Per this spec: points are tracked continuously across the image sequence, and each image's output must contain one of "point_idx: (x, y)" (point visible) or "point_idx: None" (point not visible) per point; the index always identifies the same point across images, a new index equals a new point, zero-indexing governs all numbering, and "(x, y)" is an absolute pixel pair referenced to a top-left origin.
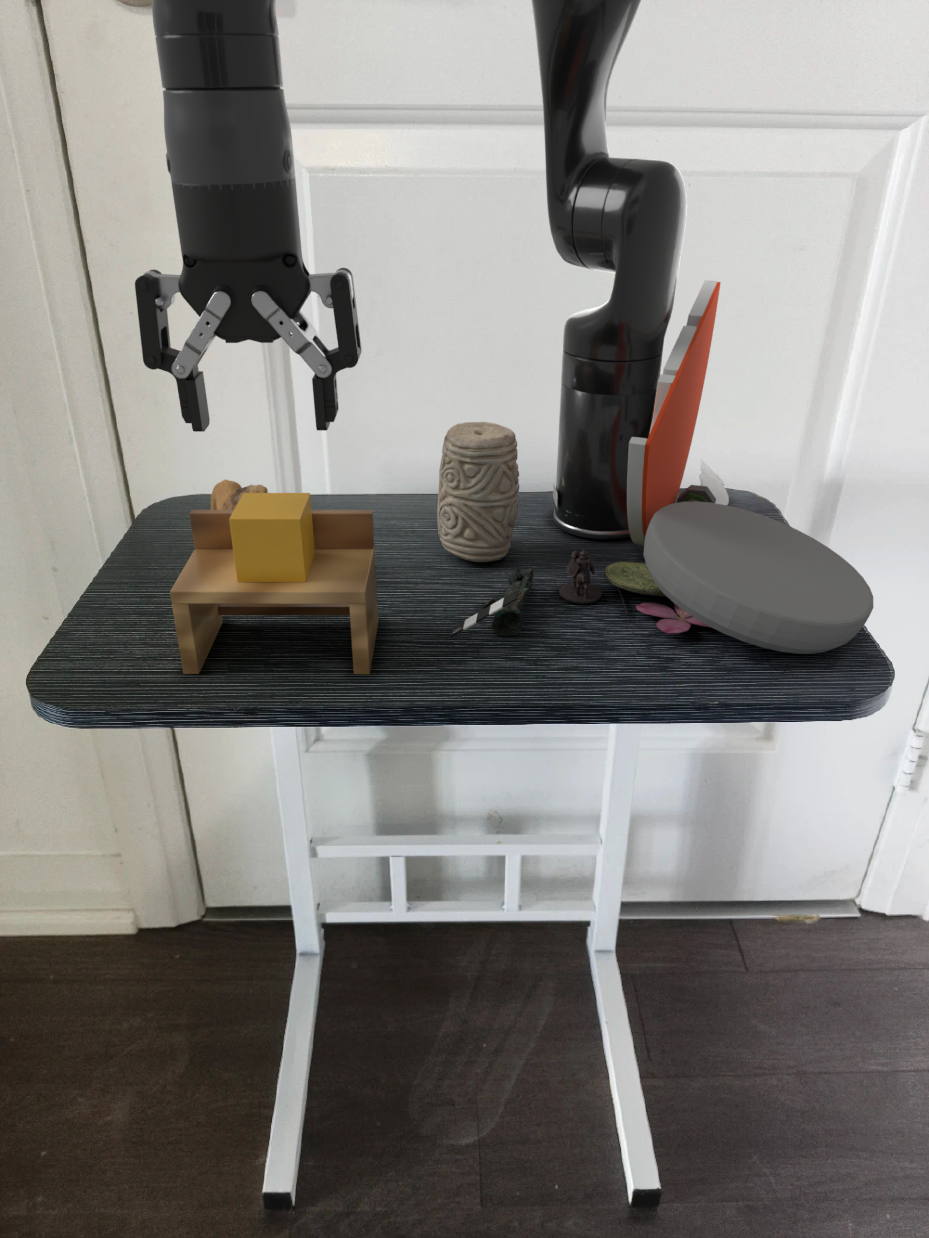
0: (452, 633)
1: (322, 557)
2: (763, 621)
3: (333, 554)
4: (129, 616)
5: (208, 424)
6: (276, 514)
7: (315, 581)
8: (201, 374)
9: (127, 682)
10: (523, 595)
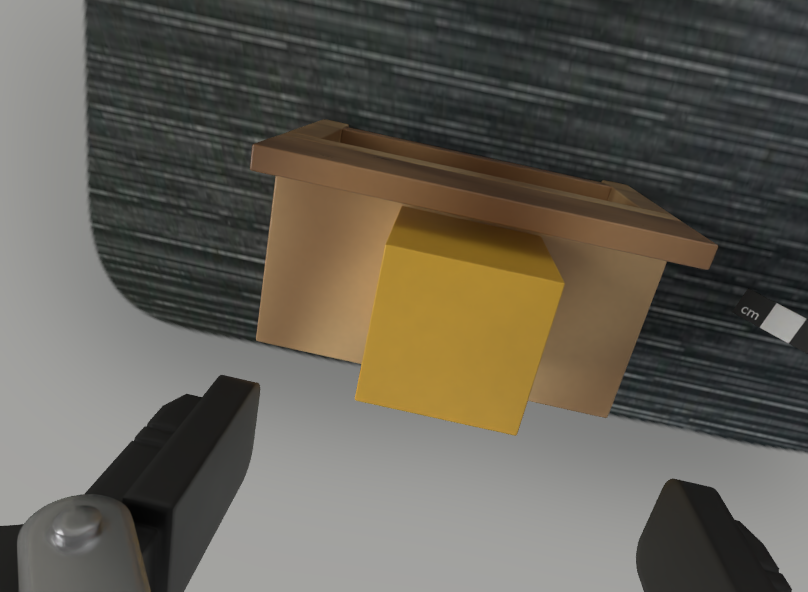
0: (739, 308)
1: (554, 260)
2: None
3: (580, 249)
4: (178, 61)
5: (258, 396)
6: (464, 399)
7: None
8: (173, 528)
9: (222, 284)
10: None
